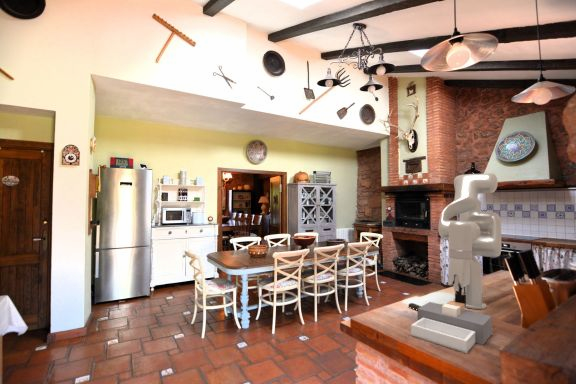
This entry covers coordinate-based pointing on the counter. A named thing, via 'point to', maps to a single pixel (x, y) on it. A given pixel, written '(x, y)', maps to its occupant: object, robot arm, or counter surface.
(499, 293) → the counter surface
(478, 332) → the block
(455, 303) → the terracotta tile
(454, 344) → the box
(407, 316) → the counter surface
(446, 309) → the cream tile
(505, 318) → the counter surface
